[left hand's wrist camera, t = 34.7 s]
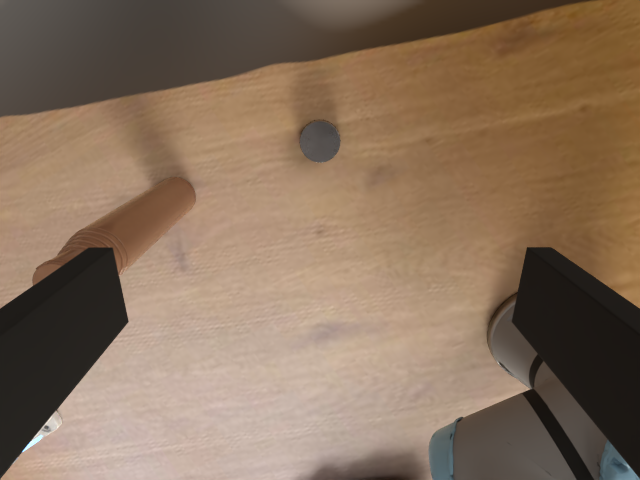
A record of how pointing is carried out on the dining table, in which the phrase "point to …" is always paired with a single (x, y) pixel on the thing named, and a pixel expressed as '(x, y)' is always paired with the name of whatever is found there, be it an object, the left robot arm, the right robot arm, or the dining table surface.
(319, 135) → the cap
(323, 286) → the dining table surface
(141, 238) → the bottle
